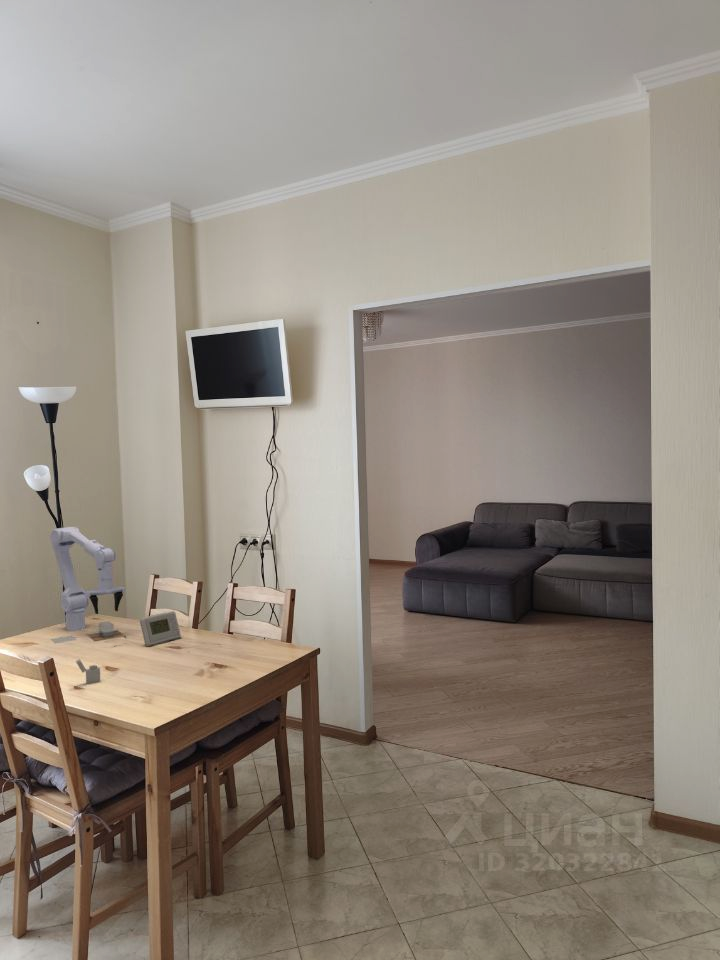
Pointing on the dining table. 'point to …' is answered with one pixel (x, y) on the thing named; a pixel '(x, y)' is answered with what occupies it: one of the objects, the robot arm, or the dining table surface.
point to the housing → (106, 629)
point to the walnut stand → (98, 638)
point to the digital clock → (160, 628)
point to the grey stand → (63, 639)
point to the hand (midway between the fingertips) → (106, 612)
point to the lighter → (90, 672)
